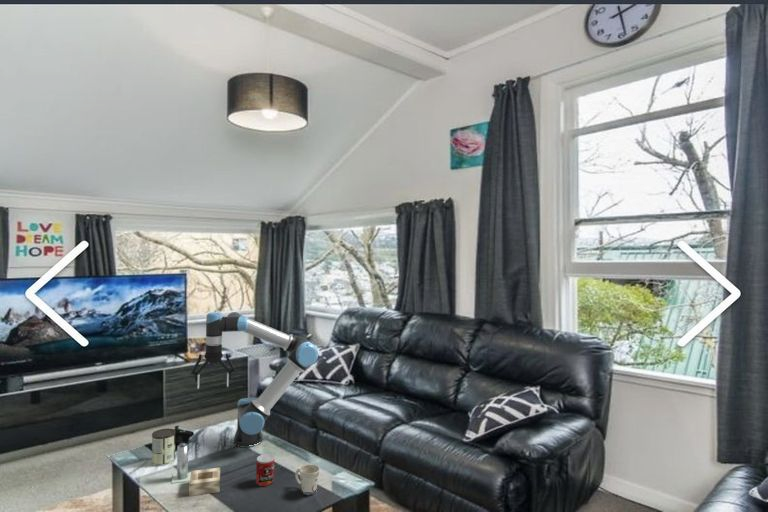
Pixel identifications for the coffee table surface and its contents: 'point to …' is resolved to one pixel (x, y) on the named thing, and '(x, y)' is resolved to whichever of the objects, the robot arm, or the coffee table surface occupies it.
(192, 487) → the housing
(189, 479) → the pad
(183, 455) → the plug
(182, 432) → the controller
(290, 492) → the coffee table surface
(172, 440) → the coffee can
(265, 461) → the canned food
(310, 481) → the mug
